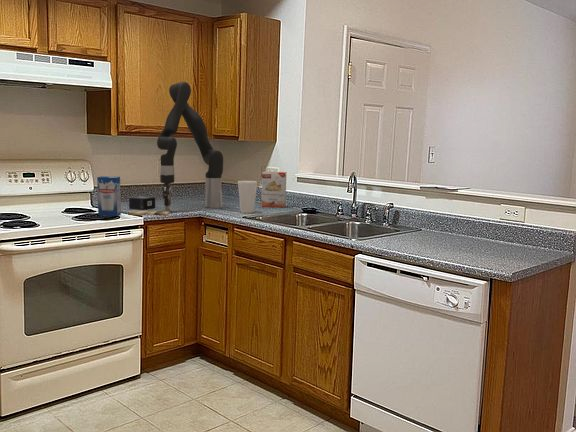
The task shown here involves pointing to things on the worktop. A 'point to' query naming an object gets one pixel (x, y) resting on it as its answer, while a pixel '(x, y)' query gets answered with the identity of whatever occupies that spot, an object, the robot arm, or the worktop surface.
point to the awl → (167, 208)
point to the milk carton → (109, 196)
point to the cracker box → (273, 189)
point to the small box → (142, 202)
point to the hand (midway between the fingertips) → (167, 204)
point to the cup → (247, 195)
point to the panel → (149, 212)
